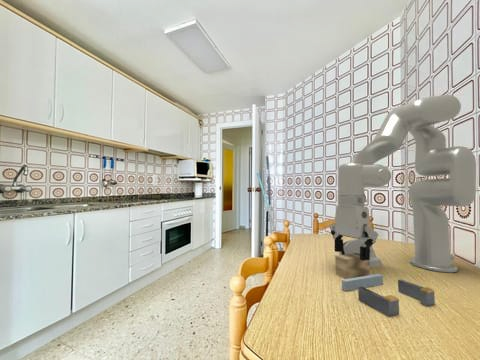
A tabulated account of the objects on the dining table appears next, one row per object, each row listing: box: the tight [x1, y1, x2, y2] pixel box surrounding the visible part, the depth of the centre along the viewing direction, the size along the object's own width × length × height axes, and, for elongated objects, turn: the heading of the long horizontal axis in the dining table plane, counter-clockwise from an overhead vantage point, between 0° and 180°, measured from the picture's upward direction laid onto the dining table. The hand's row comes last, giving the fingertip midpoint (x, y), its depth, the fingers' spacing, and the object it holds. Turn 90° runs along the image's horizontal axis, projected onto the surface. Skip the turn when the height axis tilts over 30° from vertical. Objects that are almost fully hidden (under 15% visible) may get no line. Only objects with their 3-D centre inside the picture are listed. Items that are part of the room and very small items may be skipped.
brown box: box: [334, 253, 371, 280], centre depth 66 cm, size 10×4×6 cm, turn 110°
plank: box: [341, 273, 384, 292], centre depth 57 cm, size 14×1×2 cm, turn 110°
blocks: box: [357, 278, 436, 318], centre depth 49 cm, size 15×7×3 cm, turn 110°
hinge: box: [338, 238, 383, 269], centre depth 76 cm, size 17×5×10 cm, turn 118°
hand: (350, 255), depth 66 cm, fingers open, 9 cm apart
